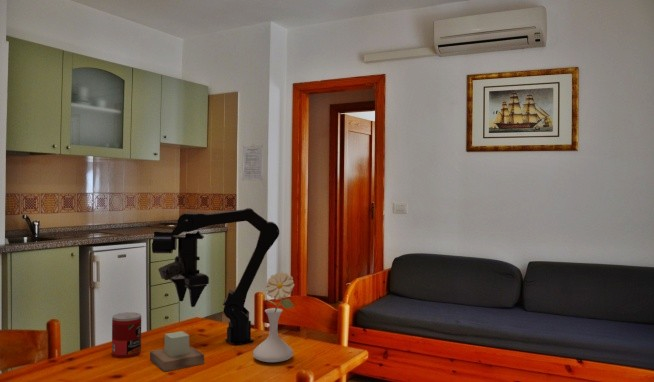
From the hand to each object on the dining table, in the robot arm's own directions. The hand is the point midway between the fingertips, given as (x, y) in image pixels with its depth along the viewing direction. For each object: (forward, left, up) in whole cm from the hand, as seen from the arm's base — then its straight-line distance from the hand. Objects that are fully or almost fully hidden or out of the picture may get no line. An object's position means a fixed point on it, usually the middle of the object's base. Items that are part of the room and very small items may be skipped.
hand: (186, 303), depth 158 cm
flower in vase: (-14, +29, -12) cm, 34 cm away
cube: (+9, +15, -10) cm, 20 cm away
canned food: (+18, 0, -12) cm, 22 cm away
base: (+9, +15, -12) cm, 21 cm away
